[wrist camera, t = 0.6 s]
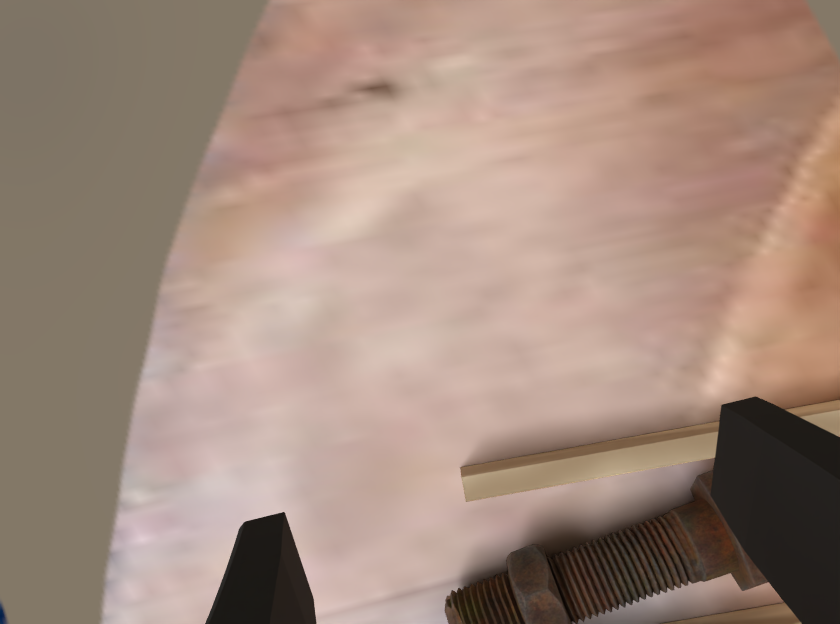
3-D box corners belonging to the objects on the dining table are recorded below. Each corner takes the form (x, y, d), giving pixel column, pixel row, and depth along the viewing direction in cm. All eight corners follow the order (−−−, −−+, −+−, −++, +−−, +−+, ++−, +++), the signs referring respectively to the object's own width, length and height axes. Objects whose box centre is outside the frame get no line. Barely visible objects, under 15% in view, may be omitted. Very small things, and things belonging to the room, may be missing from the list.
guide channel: (972, 595, 33) (1026, 624, 30) (499, 674, 34) (504, 710, 31) (931, 383, 33) (981, 390, 30) (460, 467, 34) (462, 482, 31)
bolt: (449, 580, 36) (714, 485, 35) (480, 682, 33) (767, 583, 32) (424, 568, 31) (733, 456, 30) (458, 687, 28) (797, 569, 27)
